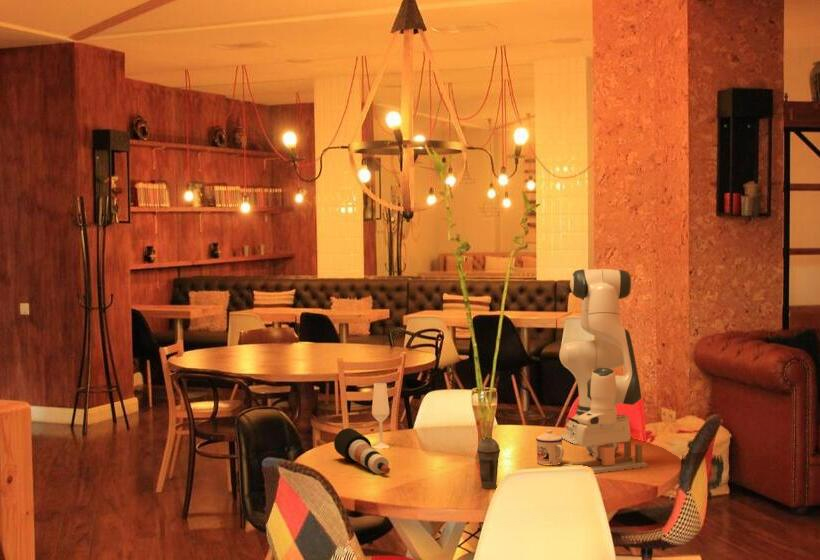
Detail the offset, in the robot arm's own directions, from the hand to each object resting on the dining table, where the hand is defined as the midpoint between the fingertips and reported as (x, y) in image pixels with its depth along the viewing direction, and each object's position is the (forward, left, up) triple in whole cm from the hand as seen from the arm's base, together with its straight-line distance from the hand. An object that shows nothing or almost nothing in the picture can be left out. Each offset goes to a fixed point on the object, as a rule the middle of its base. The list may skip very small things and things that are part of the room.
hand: (603, 456), depth 356 cm
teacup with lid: (-13, -12, -4) cm, 18 cm away
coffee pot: (-17, +7, -4) cm, 19 cm away
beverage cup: (+5, -47, -4) cm, 48 cm away
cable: (-39, -71, -4) cm, 81 cm away
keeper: (0, 0, -2) cm, 2 cm away
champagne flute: (-68, -53, -4) cm, 87 cm away
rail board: (0, +1, -4) cm, 4 cm away
